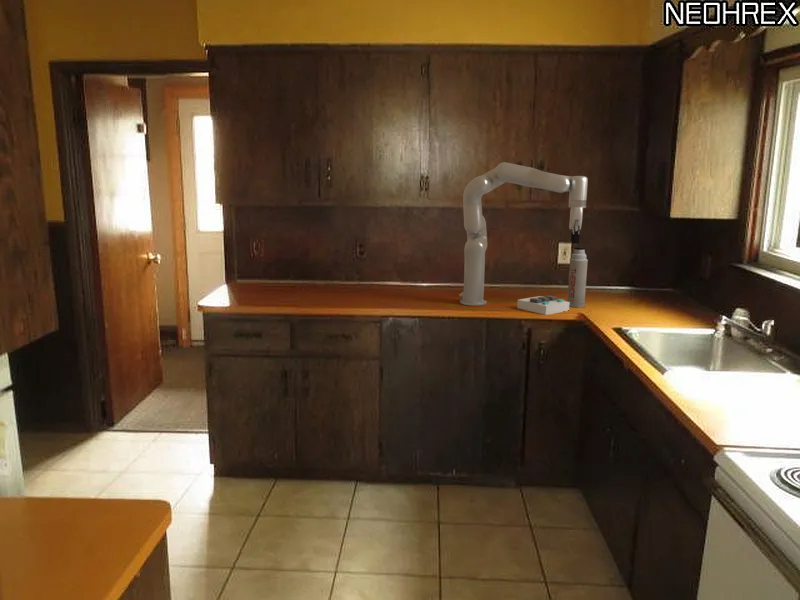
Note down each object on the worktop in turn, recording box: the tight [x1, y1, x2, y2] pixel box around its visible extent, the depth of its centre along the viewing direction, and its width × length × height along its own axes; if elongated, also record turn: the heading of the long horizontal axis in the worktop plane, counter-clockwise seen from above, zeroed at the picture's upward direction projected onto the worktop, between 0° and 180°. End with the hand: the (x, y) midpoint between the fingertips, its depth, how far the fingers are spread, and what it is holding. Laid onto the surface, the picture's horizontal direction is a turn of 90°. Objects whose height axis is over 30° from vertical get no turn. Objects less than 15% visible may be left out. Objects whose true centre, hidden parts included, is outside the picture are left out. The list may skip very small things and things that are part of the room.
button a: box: [529, 297, 542, 304], centre depth 300 cm, size 4×3×4 cm
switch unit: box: [516, 295, 570, 316], centre depth 303 cm, size 17×16×5 cm
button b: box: [537, 296, 550, 302], centre depth 303 cm, size 4×3×4 cm
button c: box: [544, 294, 558, 301], centre depth 306 cm, size 4×3×4 cm
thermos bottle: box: [566, 246, 589, 308], centre depth 309 cm, size 8×8×28 cm
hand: (574, 242), depth 298 cm, fingers open, 9 cm apart
